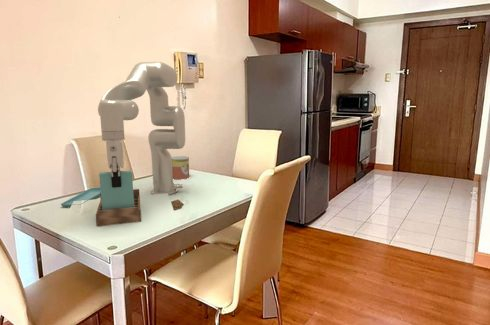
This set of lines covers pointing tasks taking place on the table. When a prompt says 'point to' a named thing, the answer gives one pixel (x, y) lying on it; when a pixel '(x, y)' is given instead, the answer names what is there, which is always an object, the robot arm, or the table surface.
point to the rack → (119, 213)
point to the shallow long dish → (83, 197)
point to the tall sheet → (116, 191)
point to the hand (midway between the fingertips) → (116, 185)
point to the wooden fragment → (176, 204)
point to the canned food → (180, 167)
